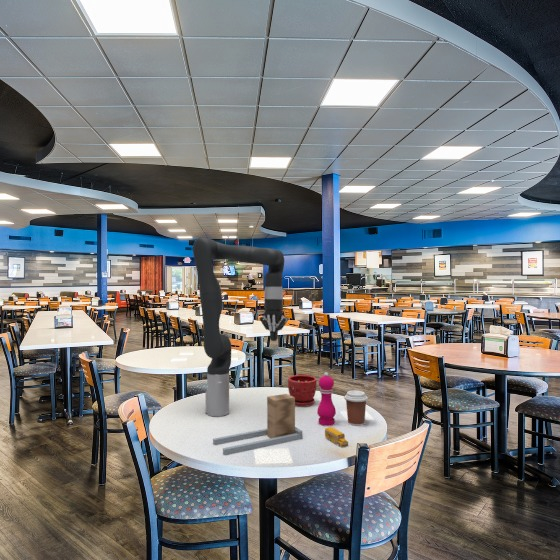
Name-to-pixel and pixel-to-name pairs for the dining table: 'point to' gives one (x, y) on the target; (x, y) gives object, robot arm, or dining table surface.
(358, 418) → the coffee cup
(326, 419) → the pepper mill
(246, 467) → the dining table surface
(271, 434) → the walnut block
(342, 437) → the toy bus
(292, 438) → the trap channel
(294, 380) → the plant pot
